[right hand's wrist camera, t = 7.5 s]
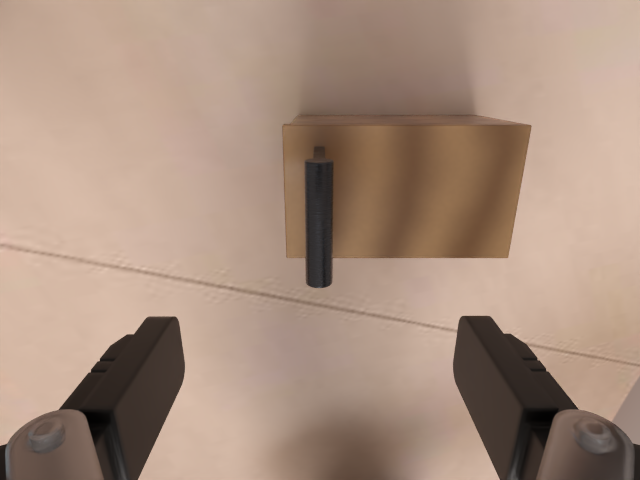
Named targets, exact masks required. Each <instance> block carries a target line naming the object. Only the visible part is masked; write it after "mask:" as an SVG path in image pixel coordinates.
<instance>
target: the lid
mask: <svg viewBox="0 0 640 480" xmlns="http://www.w3.org/2000/svg"><path fill="white" fill-rule="evenodd" d="M282 129H283V160H284V192H285V223H286V255H287V258H306V283H307V285H308V286H310V287H314V288H324V287H328V286H330V285H331V284H332V266H333V258H508V255H509V249H510V244H511V238H512V232H513V227H514V221H515V215H516V210H517V204H518V199H519V193H520V187H521V182H522V176H523V171H524V165H525V159H526V154H527V148H528V143H529V137H530V131H531V125H527V124H284V125H283V126H282Z"/></svg>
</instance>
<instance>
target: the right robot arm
mask: <svg viewBox="0 0 640 480" xmlns="http://www.w3.org/2000/svg"><path fill="white" fill-rule="evenodd" d="M184 372H185V361H184V354H183V347H182V340H181V333H180V326H179V321H178V319H177V318H176V317H147V318H146V319H145V320H144V322H143V323H142V324H141V326H140V327H139V328H138V330H137V331H136V332H135V334H134V335H126V336H124V337H123V338H121V339H120V340H118V341H117V342H115V343H114V344H112V345H111V346H110V347H109V348H108V350H107V351H106V352H105V353H104V355H103V356H102V357H101V358H100V361H98V362H97V363H96V364H95V366H94V367H93V368H92V369H91V373H88V374H87V375H86V377H85V378H84V379H83V380H82V382H81V383H80V384H79V385H78V387H77V388H76V389H75V390H74V392H73V393H72V394H71V395H70V396H69V398H68V399H67V400H66V401H65V403H64V404H63V405H62V406H61V408H60V409H59V410H57V411H53V412H49V413H46V414H44V415H41V416H39V417H37V418H35V419H33V420H31V421H30V422H28V423H27V424H25V425H24V426H23V427H21V428H20V429H19V430H18V431H17V432H16V433H15V434H14V435H13V436H12V437H11V438H10V440H9V442H8V443H7V444H5V445H2V446H0V480H138V478H139V476H140V474H141V472H142V469H143V467H144V465H145V463H146V461H147V459H148V456H149V454H150V452H151V450H152V448H153V446H154V444H155V441H156V439H157V437H158V435H159V433H160V431H161V429H162V426H163V424H164V422H165V420H166V418H167V416H168V413H169V411H170V409H171V407H172V405H173V403H174V401H175V398H176V396H177V394H178V392H179V390H180V388H181V385H182V382H183V379H184ZM453 372H454V378H455V382H456V385H457V387H458V389H459V391H460V394H461V396H462V398H463V400H464V402H465V404H466V407H467V409H468V411H469V413H470V415H471V417H472V420H473V422H474V424H475V426H476V428H477V431H478V433H479V435H480V437H481V439H482V441H483V444H484V446H485V448H486V450H487V452H488V454H489V457H490V459H491V461H492V463H493V465H494V468H495V470H496V472H497V474H498V476H499V478H500V480H640V445H637V444H633V443H632V442H631V440H630V439H629V437H628V436H627V435H626V434H625V433H624V432H623V431H622V430H621V429H620V428H619V427H617V426H616V425H615V424H613V423H612V422H610V421H609V420H607V419H605V418H603V417H601V416H599V415H596V414H594V413H591V412H587V411H583V410H579V409H578V408H577V407H576V405H575V404H574V403H573V402H572V400H571V399H570V398H569V397H568V396H567V394H566V393H565V392H564V391H563V389H562V388H561V387H560V386H559V384H558V383H557V382H556V381H555V379H554V378H553V377H552V376H551V374H550V373H549V372H546V368H545V367H544V366H543V364H542V363H541V362H540V361H538V360H537V357H536V356H535V354H534V353H533V352H532V351H531V349H530V348H529V347H528V346H527V345H526V344H525V343H523V342H522V341H520V340H519V339H517V338H516V337H514V336H513V335H512V334H503V332H502V331H501V330H500V328H499V327H498V326H497V324H496V323H495V322H494V320H493V319H492V318H491V317H490V316H462V317H461V318H460V320H459V325H458V332H457V339H456V346H455V353H454V360H453Z"/></svg>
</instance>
